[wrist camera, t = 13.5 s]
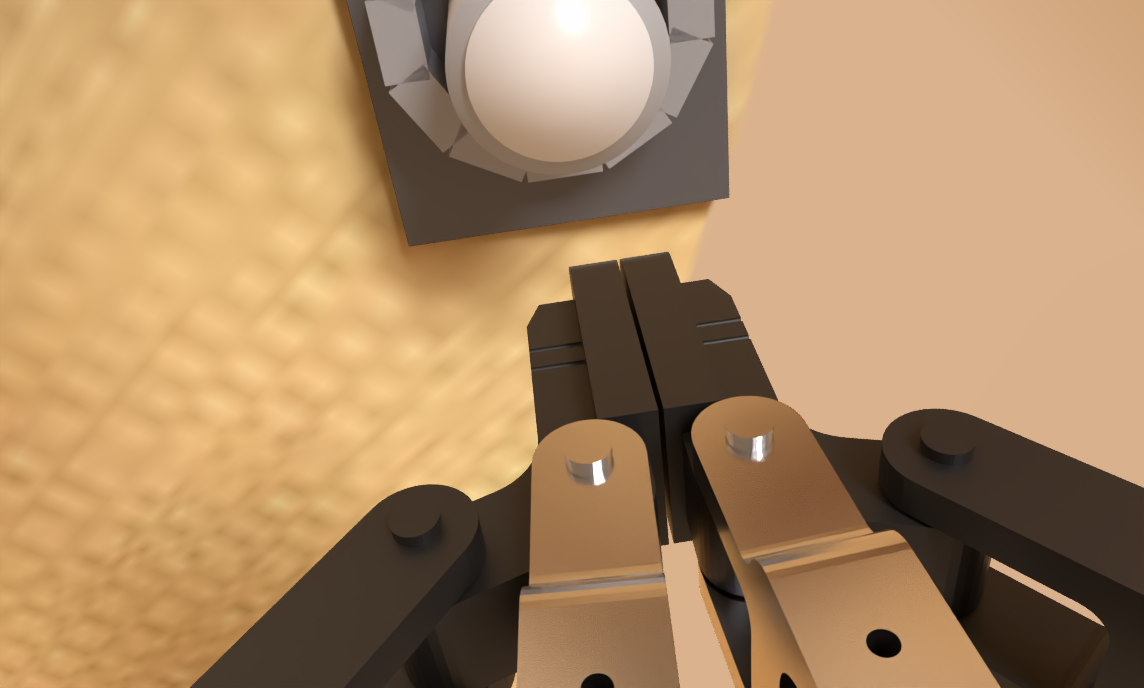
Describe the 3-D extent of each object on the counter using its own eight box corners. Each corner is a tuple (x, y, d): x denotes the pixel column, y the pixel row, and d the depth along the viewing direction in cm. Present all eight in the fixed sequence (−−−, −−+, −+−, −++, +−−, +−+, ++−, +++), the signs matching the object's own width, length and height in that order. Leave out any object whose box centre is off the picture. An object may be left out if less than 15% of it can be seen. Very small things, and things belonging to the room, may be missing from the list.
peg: (432, -85, 27) (422, -30, 21) (622, -113, 27) (666, -67, 21) (467, 101, 30) (468, 194, 24) (637, 75, 31) (678, 162, 25)
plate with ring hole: (282, -276, 25) (259, -275, 22) (710, -337, 25) (740, -345, 22) (410, 233, 34) (405, 279, 31) (722, 186, 34) (745, 227, 31)
